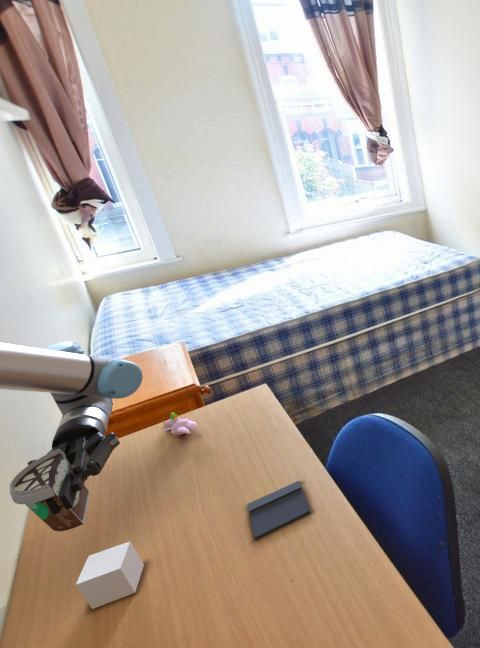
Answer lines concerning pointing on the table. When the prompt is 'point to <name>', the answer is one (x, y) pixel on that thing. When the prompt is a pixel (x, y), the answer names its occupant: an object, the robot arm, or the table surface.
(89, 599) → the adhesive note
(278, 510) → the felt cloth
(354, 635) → the table surface
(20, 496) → the food container
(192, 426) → the rabbit figure
